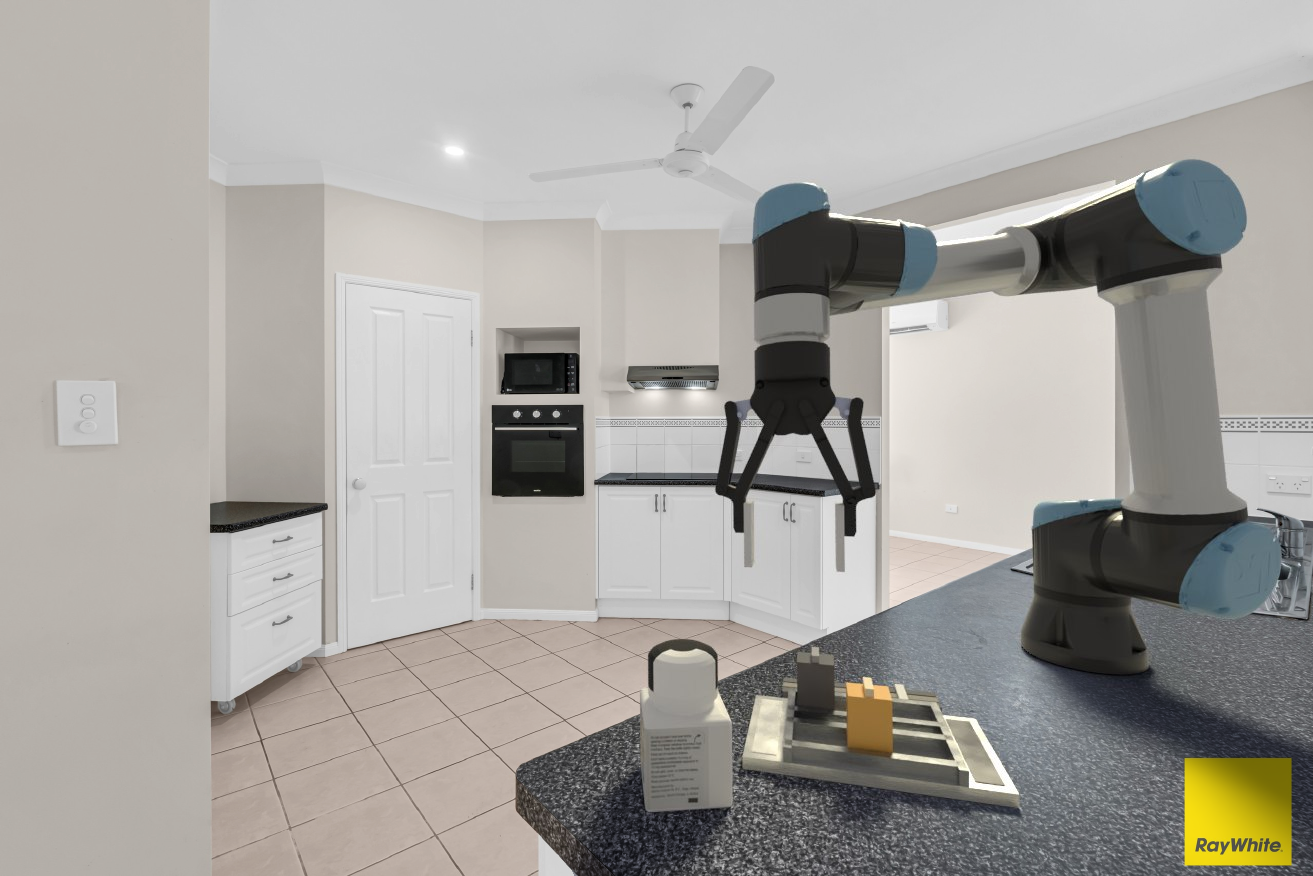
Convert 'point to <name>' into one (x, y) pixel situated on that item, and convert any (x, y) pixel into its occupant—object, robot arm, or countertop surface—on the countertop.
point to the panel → (922, 759)
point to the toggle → (815, 680)
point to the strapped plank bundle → (894, 692)
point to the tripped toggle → (869, 716)
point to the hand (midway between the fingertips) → (793, 566)
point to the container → (684, 730)
